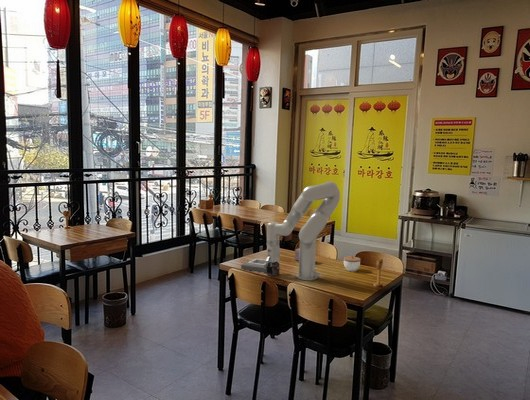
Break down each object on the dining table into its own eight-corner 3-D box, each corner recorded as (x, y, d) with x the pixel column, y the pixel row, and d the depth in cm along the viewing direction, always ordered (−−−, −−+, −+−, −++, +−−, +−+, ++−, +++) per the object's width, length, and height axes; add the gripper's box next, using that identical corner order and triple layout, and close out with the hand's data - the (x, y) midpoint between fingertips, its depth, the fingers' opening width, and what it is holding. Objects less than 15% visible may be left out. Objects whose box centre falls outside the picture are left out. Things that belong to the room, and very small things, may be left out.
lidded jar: (339, 269, 260) (340, 255, 259) (349, 267, 267) (349, 253, 266) (354, 273, 252) (354, 258, 251) (363, 270, 260) (364, 256, 259)
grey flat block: (277, 267, 261) (277, 260, 261) (266, 273, 247) (266, 266, 246) (253, 263, 269) (253, 257, 269) (241, 269, 255) (241, 262, 255)
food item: (315, 262, 277) (316, 248, 276) (308, 264, 271) (308, 250, 270) (300, 259, 286) (301, 245, 285) (293, 260, 281) (293, 246, 280)
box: (271, 276, 240) (271, 264, 239) (265, 274, 245) (265, 262, 244) (279, 275, 244) (279, 263, 243) (273, 273, 248) (273, 261, 248)
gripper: (272, 246, 233) (271, 275, 235) (284, 240, 248) (284, 268, 250) (260, 244, 236) (260, 274, 238) (273, 239, 252) (273, 267, 253)
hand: (272, 271), depth 244 cm, fingers closed on box, 8 cm apart
